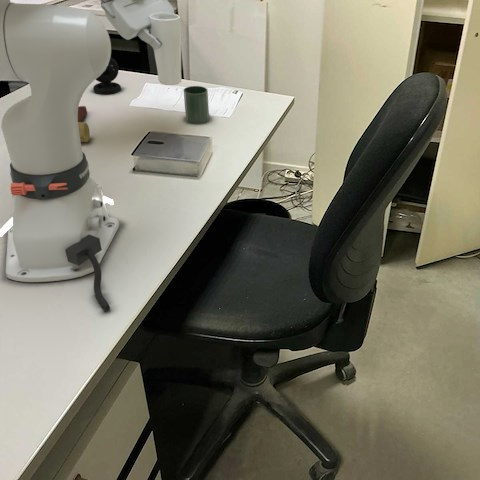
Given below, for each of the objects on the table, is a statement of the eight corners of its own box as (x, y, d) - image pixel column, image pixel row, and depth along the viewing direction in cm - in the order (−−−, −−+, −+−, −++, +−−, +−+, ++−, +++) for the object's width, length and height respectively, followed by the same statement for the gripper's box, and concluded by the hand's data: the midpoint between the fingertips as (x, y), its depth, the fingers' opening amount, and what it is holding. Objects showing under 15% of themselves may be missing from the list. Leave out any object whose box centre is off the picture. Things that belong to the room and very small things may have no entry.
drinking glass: (189, 80, 133) (185, 14, 125) (176, 88, 128) (171, 21, 119) (163, 75, 134) (158, 11, 126) (150, 84, 129) (143, 17, 120)
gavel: (63, 98, 144) (103, 99, 145) (66, 115, 146) (105, 115, 147) (37, 125, 126) (83, 126, 127) (41, 144, 128) (86, 144, 130)
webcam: (95, 96, 155) (89, 60, 149) (90, 87, 160) (84, 52, 155) (124, 92, 158) (119, 57, 153) (118, 84, 164) (113, 50, 158)
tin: (209, 123, 144) (207, 94, 140) (186, 124, 143) (183, 94, 139) (208, 114, 149) (207, 85, 144) (186, 115, 148) (183, 86, 143)
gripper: (104, -10, 112) (154, 45, 116) (152, -25, 128) (194, 24, 132) (88, 10, 115) (137, 64, 119) (137, -7, 132) (178, 41, 136)
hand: (167, 43), depth 126 cm, fingers closed on drinking glass, 6 cm apart
